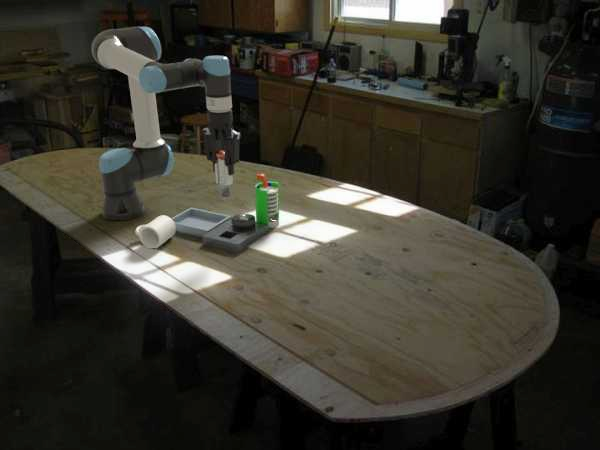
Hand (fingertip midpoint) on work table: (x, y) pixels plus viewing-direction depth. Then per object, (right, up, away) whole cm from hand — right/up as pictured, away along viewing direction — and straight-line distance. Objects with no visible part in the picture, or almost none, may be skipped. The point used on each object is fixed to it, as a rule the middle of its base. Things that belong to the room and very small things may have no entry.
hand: (224, 183), depth 190 cm
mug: (-25, -19, +10) cm, 33 cm away
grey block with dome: (+3, -18, +12) cm, 21 cm away
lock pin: (0, -4, +2) cm, 4 cm away
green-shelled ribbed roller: (+12, -13, +23) cm, 29 cm away
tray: (-11, -14, +21) cm, 28 cm away
